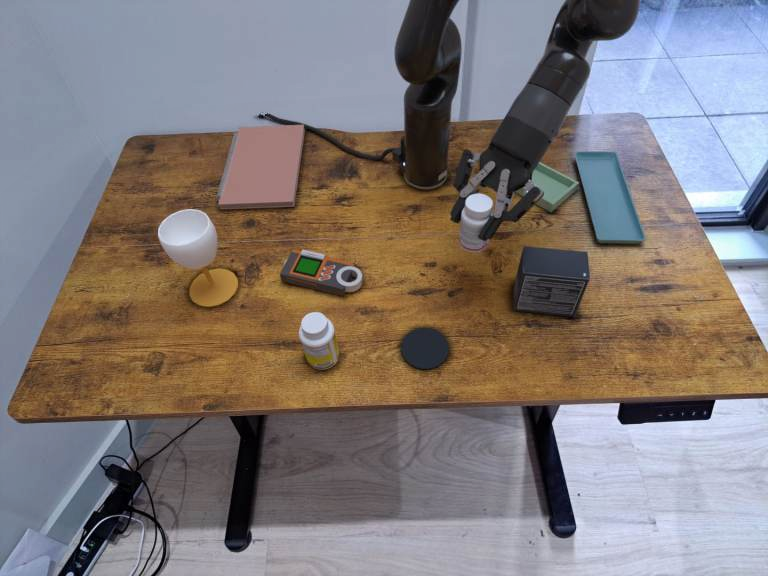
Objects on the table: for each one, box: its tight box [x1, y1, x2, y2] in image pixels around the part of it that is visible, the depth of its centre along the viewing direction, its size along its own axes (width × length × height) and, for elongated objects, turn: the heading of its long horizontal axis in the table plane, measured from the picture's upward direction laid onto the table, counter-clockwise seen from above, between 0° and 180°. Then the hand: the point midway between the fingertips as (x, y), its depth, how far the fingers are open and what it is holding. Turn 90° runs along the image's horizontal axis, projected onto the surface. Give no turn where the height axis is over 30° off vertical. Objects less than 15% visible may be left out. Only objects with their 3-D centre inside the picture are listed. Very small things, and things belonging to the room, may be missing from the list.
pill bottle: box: [458, 193, 494, 253], centre depth 77 cm, size 5×5×8 cm
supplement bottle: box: [298, 311, 340, 371], centre depth 81 cm, size 6×6×10 cm
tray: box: [514, 161, 580, 213], centre depth 107 cm, size 11×9×2 cm
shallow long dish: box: [573, 150, 647, 245], centre depth 104 cm, size 26×9×2 cm, turn 177°
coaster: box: [400, 326, 450, 371], centre depth 85 cm, size 8×8×1 cm
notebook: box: [215, 124, 306, 211], centre depth 115 cm, size 27×17×2 cm, turn 1°
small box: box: [512, 245, 591, 318], centre depth 86 cm, size 11×6×10 cm, turn 80°
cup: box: [157, 208, 239, 308], centre depth 89 cm, size 9×9×16 cm
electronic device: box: [279, 248, 363, 297], centre depth 94 cm, size 7×3×15 cm
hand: (468, 230), depth 77 cm, fingers closed on pill bottle, 4 cm apart
